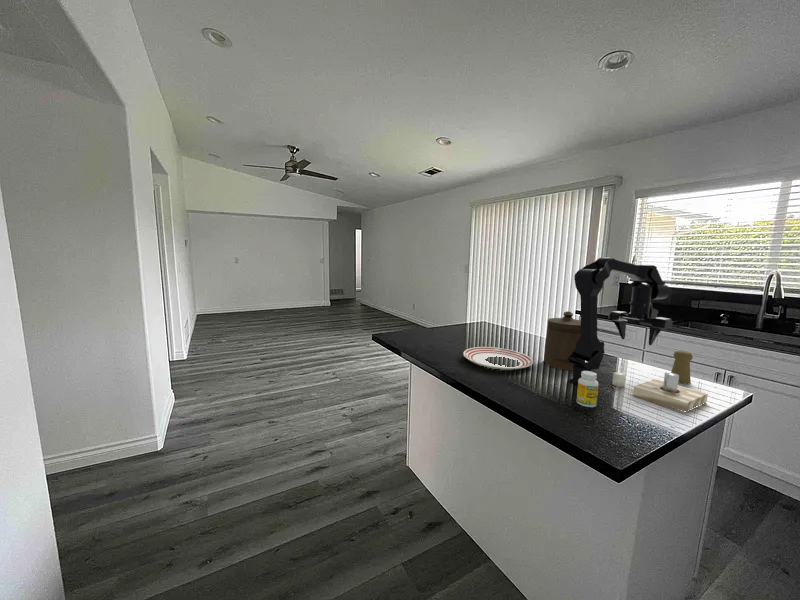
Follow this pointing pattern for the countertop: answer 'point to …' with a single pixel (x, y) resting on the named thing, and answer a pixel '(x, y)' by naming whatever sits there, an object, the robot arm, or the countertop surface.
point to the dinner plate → (482, 353)
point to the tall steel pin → (670, 382)
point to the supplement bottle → (587, 389)
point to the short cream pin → (618, 379)
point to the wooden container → (561, 341)
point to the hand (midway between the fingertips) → (636, 342)
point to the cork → (682, 366)
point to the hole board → (670, 395)
